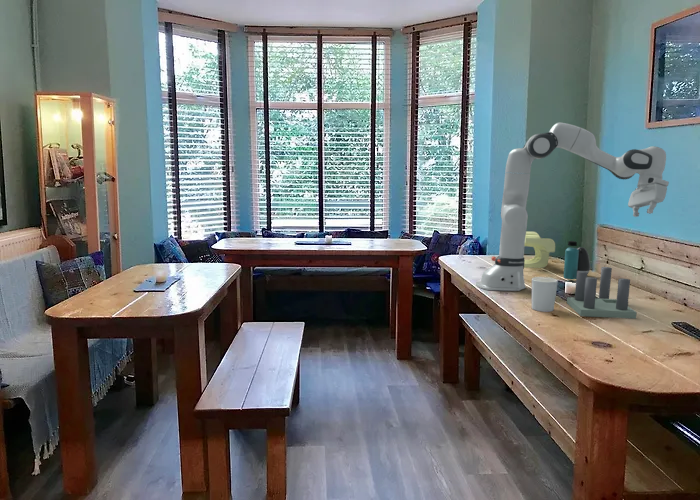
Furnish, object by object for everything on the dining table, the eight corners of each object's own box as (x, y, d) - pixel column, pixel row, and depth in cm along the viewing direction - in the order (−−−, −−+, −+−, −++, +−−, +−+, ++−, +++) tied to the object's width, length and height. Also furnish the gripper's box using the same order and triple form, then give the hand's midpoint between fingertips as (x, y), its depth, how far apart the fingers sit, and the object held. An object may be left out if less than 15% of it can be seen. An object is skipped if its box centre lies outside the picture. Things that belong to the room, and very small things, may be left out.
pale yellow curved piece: (553, 270, 299) (555, 238, 297) (523, 270, 300) (525, 237, 297) (537, 261, 329) (539, 231, 326) (510, 260, 330) (512, 231, 327)
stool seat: (636, 318, 207) (639, 282, 205) (580, 316, 209) (583, 280, 207) (617, 305, 227) (620, 271, 224) (566, 303, 229) (569, 270, 227)
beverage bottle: (578, 282, 270) (581, 242, 266) (563, 282, 271) (566, 241, 268) (575, 280, 276) (578, 240, 273) (561, 279, 277) (564, 240, 274)
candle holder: (555, 307, 222) (557, 278, 220) (555, 313, 213) (558, 283, 211) (529, 305, 225) (531, 276, 223) (529, 310, 216) (531, 280, 214)
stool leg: (602, 301, 233) (605, 268, 231) (596, 298, 237) (599, 267, 235) (610, 301, 234) (613, 268, 232) (605, 298, 238) (608, 266, 235)
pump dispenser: (568, 276, 284) (570, 247, 281) (568, 273, 293) (570, 245, 291) (589, 278, 280) (592, 249, 278) (589, 274, 290) (591, 246, 287)
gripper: (628, 186, 247) (621, 216, 245) (657, 177, 226) (650, 209, 225) (640, 190, 247) (634, 220, 246) (671, 181, 227) (664, 213, 225)
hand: (642, 214), depth 235 cm, fingers open, 8 cm apart
